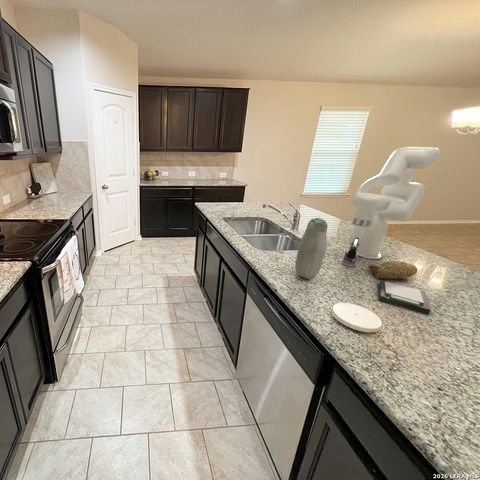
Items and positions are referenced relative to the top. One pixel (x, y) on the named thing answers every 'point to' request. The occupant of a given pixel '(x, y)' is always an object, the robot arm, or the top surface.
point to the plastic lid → (356, 317)
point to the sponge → (393, 270)
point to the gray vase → (312, 249)
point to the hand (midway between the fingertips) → (351, 255)
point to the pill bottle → (348, 260)
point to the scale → (403, 297)
